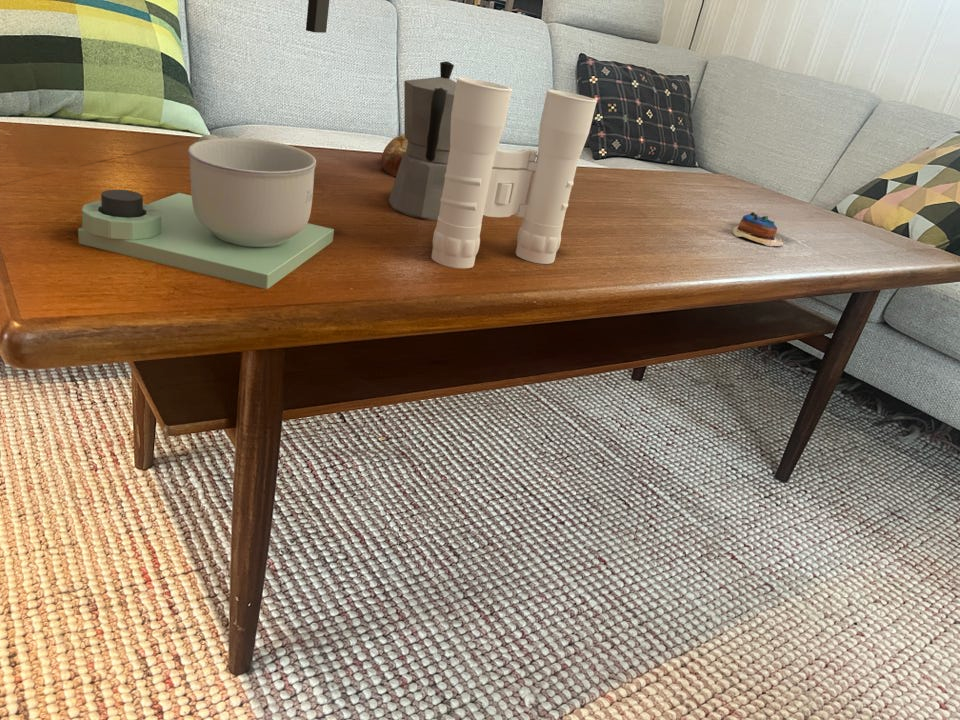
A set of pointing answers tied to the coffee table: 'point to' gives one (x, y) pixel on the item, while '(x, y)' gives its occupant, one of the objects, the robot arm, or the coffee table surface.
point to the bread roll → (394, 154)
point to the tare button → (122, 203)
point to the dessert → (757, 230)
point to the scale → (196, 242)
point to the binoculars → (508, 173)
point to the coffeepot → (425, 145)
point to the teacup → (251, 189)
